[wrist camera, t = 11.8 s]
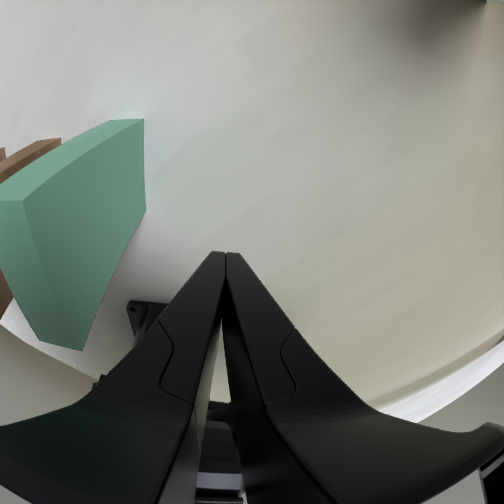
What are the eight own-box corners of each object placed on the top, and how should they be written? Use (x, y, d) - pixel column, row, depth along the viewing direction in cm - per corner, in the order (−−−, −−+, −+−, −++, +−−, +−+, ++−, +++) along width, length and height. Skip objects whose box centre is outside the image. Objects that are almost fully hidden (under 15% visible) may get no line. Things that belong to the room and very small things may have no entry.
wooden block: (60, 137, 11) (-63, 225, 4) (72, 217, 14) (-8, 334, 7) (37, 140, 11) (-79, 224, 3) (50, 217, 14) (-29, 324, 6)
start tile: (143, 118, 11) (22, 200, 4) (145, 210, 14) (81, 350, 7) (110, 120, 11) (-23, 202, 4) (116, 209, 14) (39, 340, 7)
